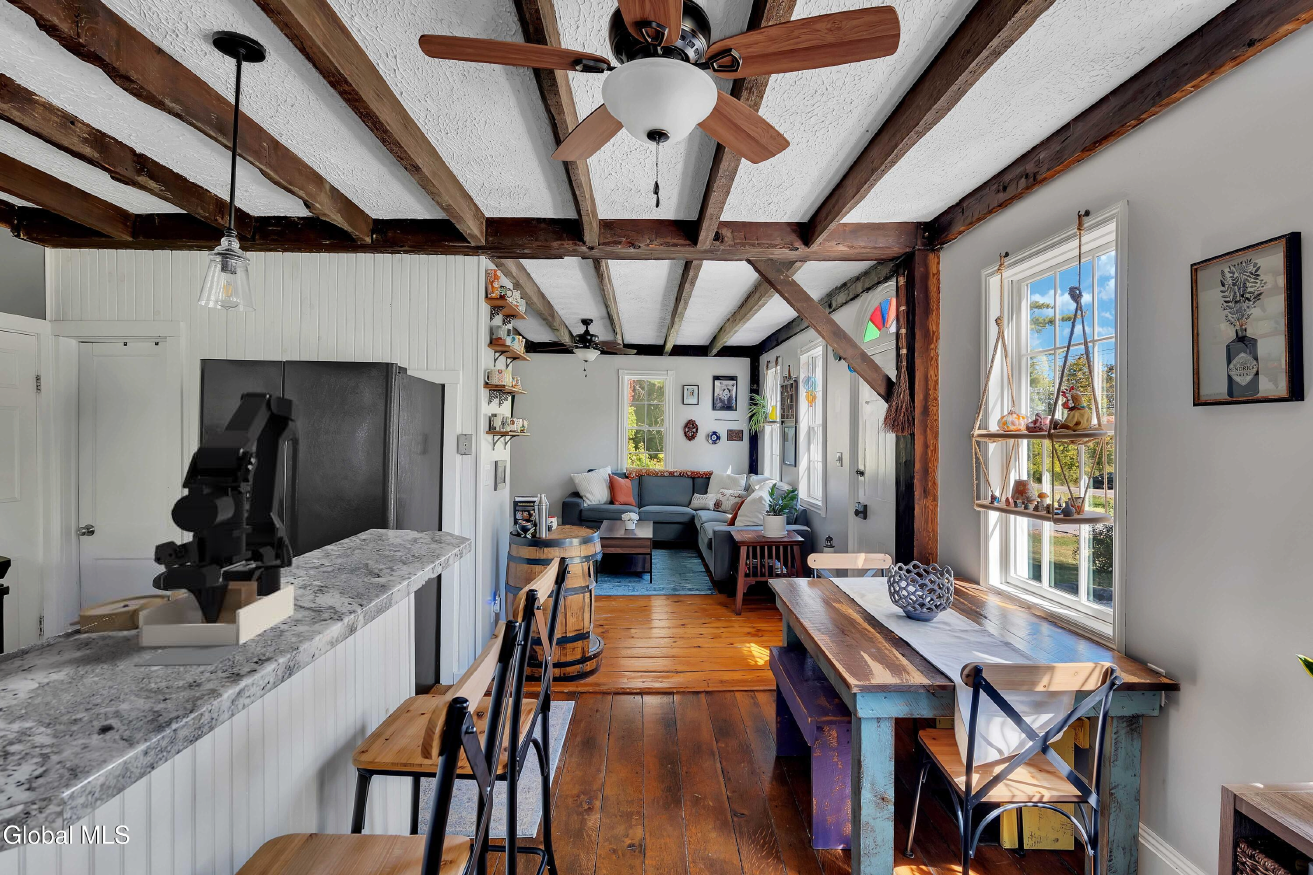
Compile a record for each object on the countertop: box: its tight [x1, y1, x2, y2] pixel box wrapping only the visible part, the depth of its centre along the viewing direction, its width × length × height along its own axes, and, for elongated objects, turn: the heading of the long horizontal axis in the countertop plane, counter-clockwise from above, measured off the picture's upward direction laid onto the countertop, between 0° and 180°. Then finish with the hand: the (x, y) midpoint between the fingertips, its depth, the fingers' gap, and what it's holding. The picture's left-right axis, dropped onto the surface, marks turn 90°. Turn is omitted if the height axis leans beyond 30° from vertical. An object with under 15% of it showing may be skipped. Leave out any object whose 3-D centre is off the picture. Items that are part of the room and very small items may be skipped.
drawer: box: [138, 584, 295, 647], centre depth 94 cm, size 15×14×6 cm
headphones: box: [69, 590, 185, 634], centre depth 97 cm, size 11×5×15 cm
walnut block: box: [187, 582, 257, 624], centre depth 94 cm, size 4×8×7 cm, turn 95°
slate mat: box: [133, 644, 245, 667], centre depth 82 cm, size 7×10×1 cm
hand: (222, 618), depth 94 cm, fingers open, 5 cm apart
